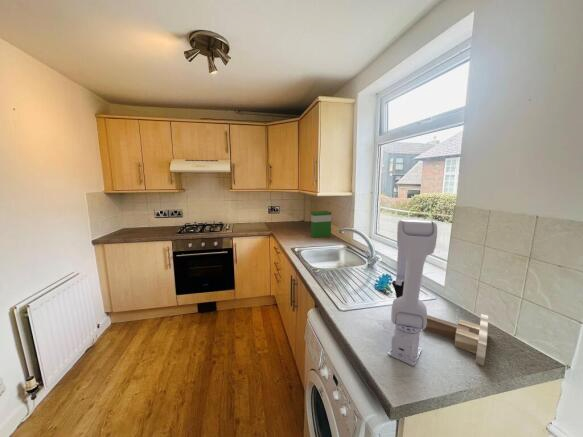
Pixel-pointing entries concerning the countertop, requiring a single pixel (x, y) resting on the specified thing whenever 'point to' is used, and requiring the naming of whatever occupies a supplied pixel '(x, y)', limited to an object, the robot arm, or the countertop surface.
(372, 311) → the countertop surface
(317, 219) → the hardback book
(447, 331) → the bed rail
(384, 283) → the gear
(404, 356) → the robot arm
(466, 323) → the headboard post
